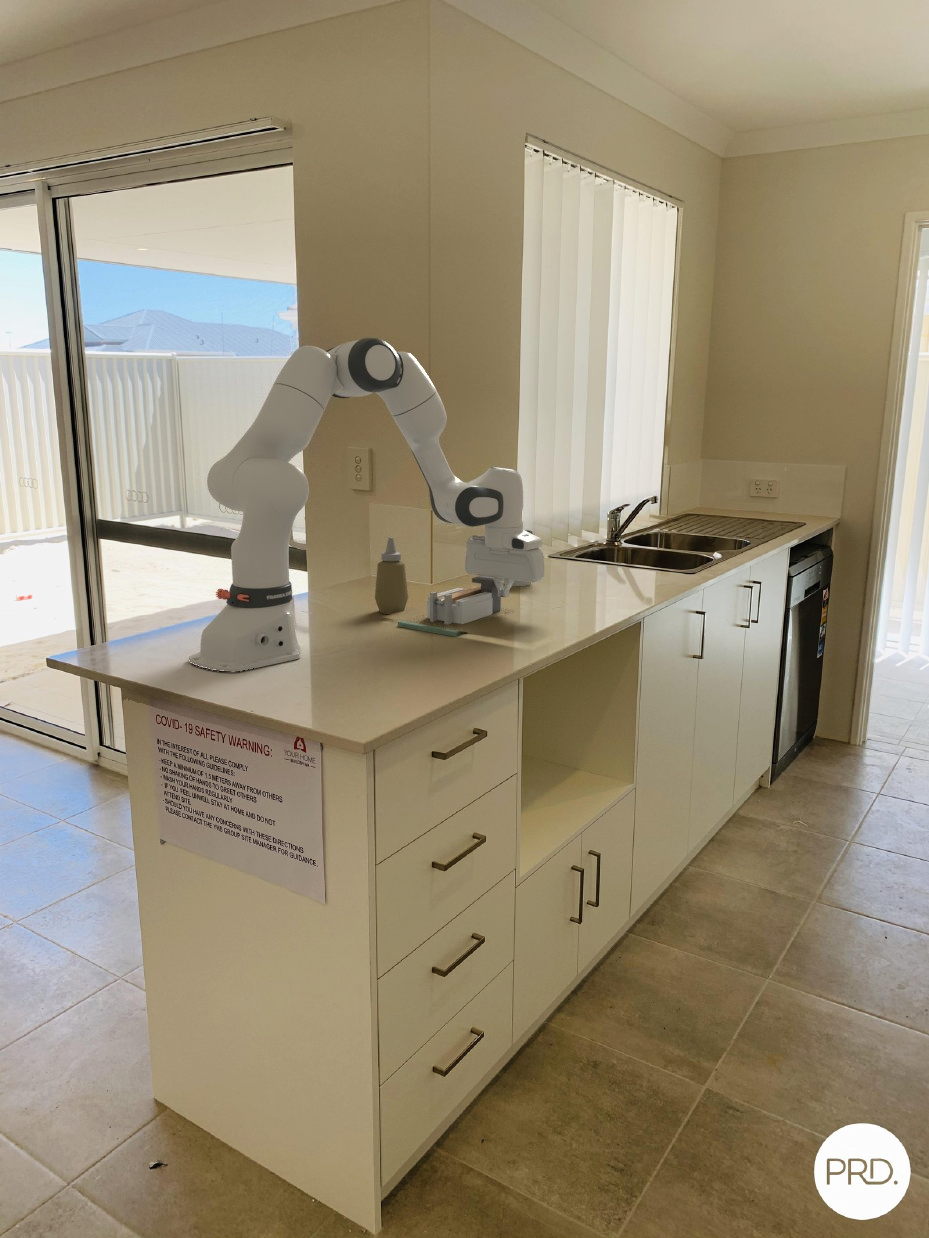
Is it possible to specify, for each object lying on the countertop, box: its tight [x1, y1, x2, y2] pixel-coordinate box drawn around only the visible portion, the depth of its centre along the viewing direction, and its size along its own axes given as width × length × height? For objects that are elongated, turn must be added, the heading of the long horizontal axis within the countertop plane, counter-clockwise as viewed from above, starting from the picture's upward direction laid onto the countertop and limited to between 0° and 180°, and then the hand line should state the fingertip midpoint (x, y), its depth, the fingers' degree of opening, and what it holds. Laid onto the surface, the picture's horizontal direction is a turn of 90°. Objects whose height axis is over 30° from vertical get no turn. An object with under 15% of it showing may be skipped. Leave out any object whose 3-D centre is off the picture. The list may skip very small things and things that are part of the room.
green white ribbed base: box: [397, 587, 513, 638], centre depth 217 cm, size 26×16×8 cm, turn 145°
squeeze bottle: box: [374, 537, 409, 615], centre depth 224 cm, size 8×8×18 cm
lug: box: [471, 575, 502, 614], centre depth 223 cm, size 4×6×8 cm
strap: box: [435, 585, 481, 606], centre depth 217 cm, size 17×3×1 cm, turn 145°
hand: (503, 596), depth 220 cm, fingers closed
